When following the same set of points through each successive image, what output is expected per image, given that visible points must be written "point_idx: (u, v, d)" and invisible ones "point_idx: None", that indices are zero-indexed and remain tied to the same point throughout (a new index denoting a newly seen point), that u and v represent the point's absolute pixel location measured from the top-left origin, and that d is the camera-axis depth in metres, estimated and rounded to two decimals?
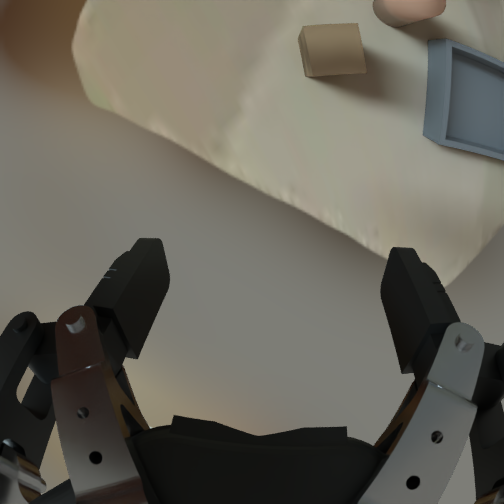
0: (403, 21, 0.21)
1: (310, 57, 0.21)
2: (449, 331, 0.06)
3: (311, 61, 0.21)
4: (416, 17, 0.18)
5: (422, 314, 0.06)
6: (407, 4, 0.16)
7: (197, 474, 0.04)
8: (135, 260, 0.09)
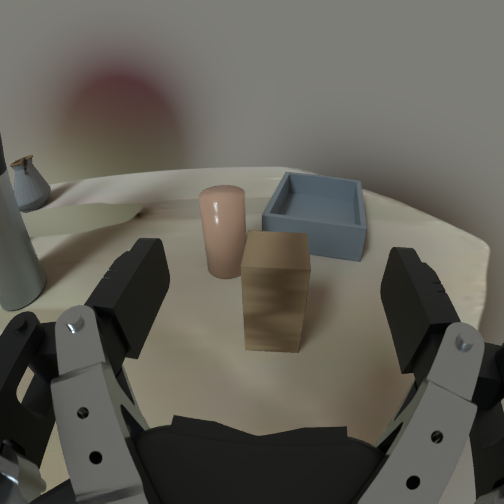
0: (244, 240, 0.35)
1: (284, 268, 0.21)
2: (449, 331, 0.06)
3: (290, 268, 0.21)
4: (243, 212, 0.33)
5: (422, 314, 0.06)
6: (231, 204, 0.30)
7: (197, 474, 0.04)
8: (135, 260, 0.09)
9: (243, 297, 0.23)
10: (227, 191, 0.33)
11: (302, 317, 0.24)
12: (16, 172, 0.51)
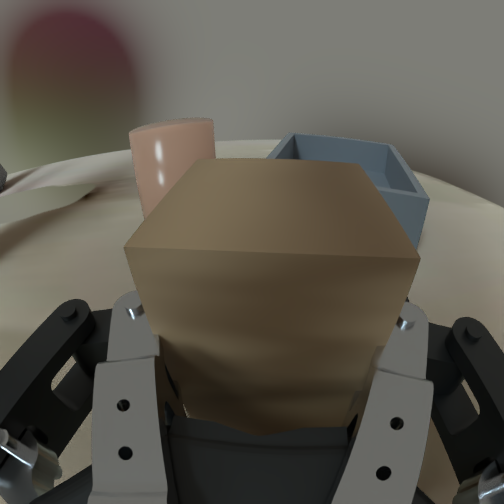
0: None
1: (311, 254, 0.05)
2: None
3: (336, 252, 0.05)
4: (210, 158, 0.16)
5: None
6: (183, 136, 0.14)
7: (197, 474, 0.04)
8: None
9: (164, 355, 0.06)
10: (182, 122, 0.16)
11: None
12: None
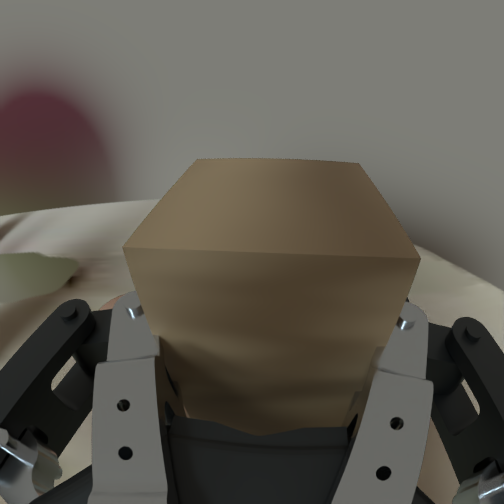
0: None
1: (310, 254, 0.05)
2: None
3: (335, 252, 0.04)
4: None
5: None
6: None
7: (197, 474, 0.04)
8: None
9: (164, 356, 0.06)
10: None
11: None
12: None
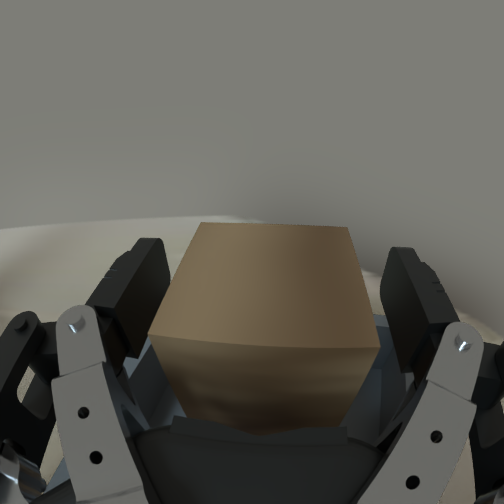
0: None
1: (293, 345, 0.06)
2: (448, 331, 0.06)
3: (312, 344, 0.06)
4: None
5: (421, 314, 0.07)
6: None
7: (197, 474, 0.04)
8: (136, 260, 0.09)
9: (179, 399, 0.08)
10: None
11: None
12: None
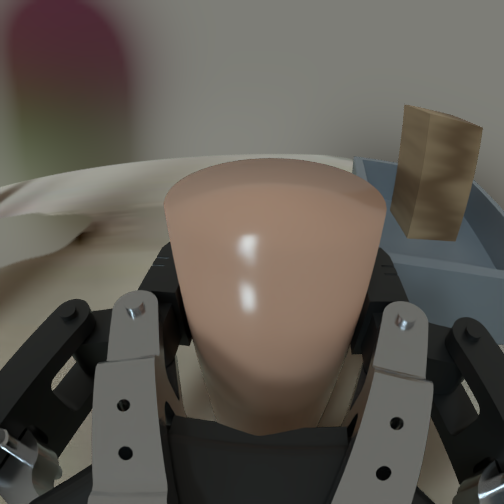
0: None
1: (464, 123, 0.15)
2: (387, 313, 0.06)
3: (468, 123, 0.15)
4: None
5: None
6: (353, 257, 0.05)
7: (197, 474, 0.04)
8: None
9: (425, 154, 0.17)
10: (297, 178, 0.07)
11: (470, 187, 0.18)
12: None
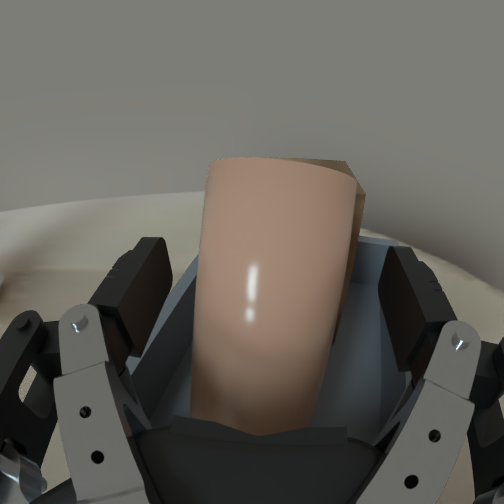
0: (329, 348, 0.09)
1: None
2: (445, 329, 0.06)
3: None
4: (349, 244, 0.09)
5: (419, 313, 0.07)
6: (327, 181, 0.08)
7: (197, 474, 0.04)
8: (138, 259, 0.09)
9: None
10: None
11: (346, 285, 0.15)
12: None
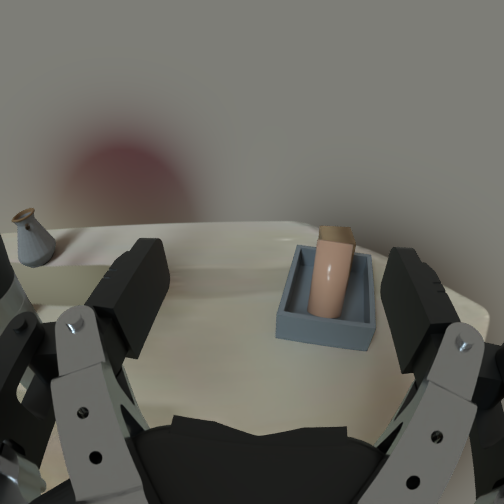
0: (346, 285, 0.39)
1: None
2: (449, 331, 0.06)
3: None
4: (350, 259, 0.39)
5: (422, 314, 0.06)
6: (347, 247, 0.37)
7: (197, 474, 0.04)
8: (135, 260, 0.09)
9: None
10: (338, 242, 0.40)
11: (349, 271, 0.44)
12: (19, 228, 0.52)
